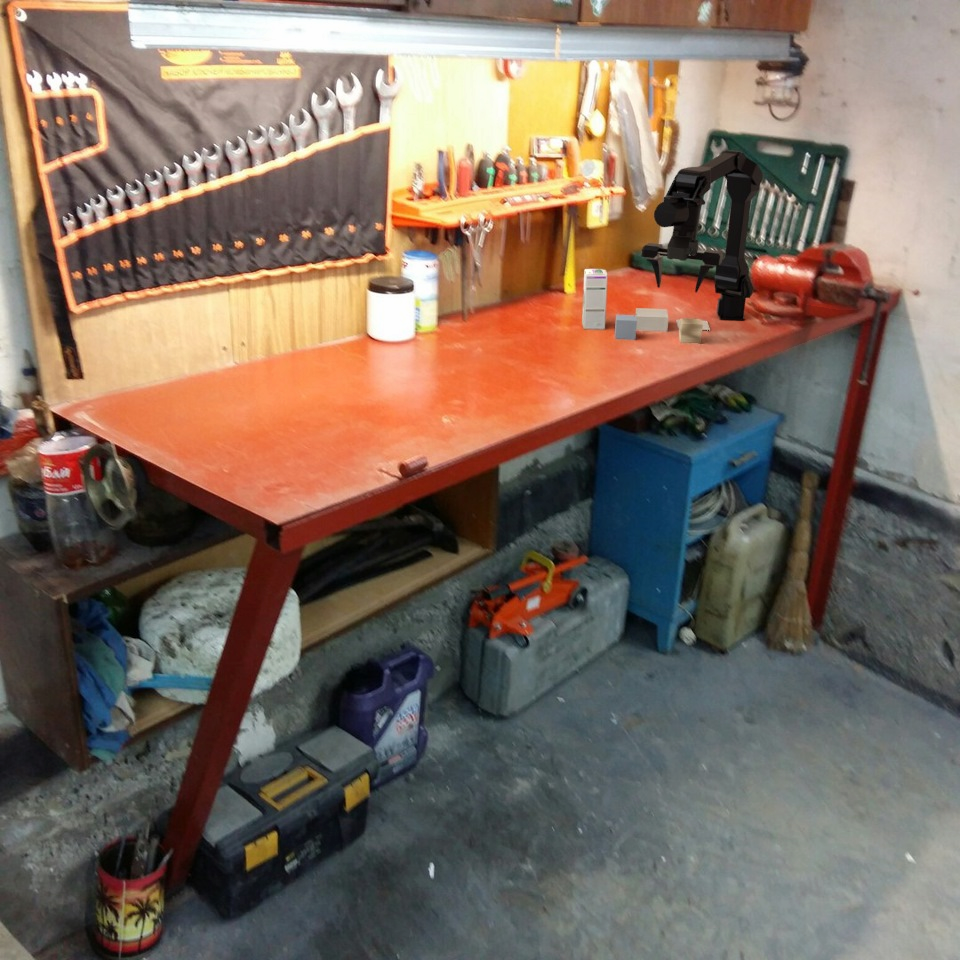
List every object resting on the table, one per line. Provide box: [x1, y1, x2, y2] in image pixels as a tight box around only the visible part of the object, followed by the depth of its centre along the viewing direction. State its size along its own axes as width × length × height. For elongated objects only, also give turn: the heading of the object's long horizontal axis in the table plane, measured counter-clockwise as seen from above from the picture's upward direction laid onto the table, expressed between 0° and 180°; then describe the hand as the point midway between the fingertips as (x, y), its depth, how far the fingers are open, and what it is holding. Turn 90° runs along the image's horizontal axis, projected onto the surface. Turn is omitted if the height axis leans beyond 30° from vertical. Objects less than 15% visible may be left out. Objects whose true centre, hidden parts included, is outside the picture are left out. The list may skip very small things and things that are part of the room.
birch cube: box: [678, 317, 703, 345], centre depth 245 cm, size 5×5×5 cm
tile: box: [675, 319, 711, 332], centre depth 257 cm, size 8×8×1 cm
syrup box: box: [581, 268, 608, 330], centre depth 253 cm, size 6×6×14 cm
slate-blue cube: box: [614, 314, 637, 341], centre depth 247 cm, size 5×5×5 cm
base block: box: [635, 307, 670, 333], centre depth 256 cm, size 8×8×4 cm
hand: (677, 289), depth 240 cm, fingers open, 9 cm apart
